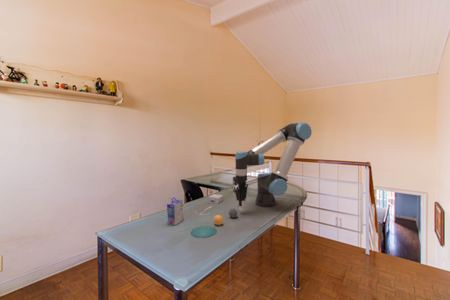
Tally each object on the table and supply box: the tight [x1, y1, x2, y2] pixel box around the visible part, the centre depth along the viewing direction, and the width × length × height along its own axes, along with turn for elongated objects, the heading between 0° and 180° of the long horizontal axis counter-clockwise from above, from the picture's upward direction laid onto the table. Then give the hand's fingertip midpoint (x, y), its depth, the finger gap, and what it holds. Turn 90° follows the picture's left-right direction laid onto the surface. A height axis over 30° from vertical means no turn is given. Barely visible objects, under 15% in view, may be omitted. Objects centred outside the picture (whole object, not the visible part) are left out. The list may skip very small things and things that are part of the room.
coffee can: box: [232, 176, 237, 195], centre depth 198 cm, size 10×10×14 cm
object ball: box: [213, 214, 224, 226], centre depth 127 cm, size 6×6×6 cm
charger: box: [207, 193, 224, 204], centre depth 175 cm, size 5×9×15 cm
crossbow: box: [195, 205, 213, 216], centre depth 151 cm, size 16×13×2 cm
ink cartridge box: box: [166, 197, 184, 226], centre depth 132 cm, size 10×6×14 cm, turn 161°
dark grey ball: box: [228, 208, 239, 219], centre depth 138 cm, size 6×6×6 cm
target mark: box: [190, 225, 218, 239], centre depth 118 cm, size 14×14×1 cm
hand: (241, 210), depth 145 cm, fingers closed
